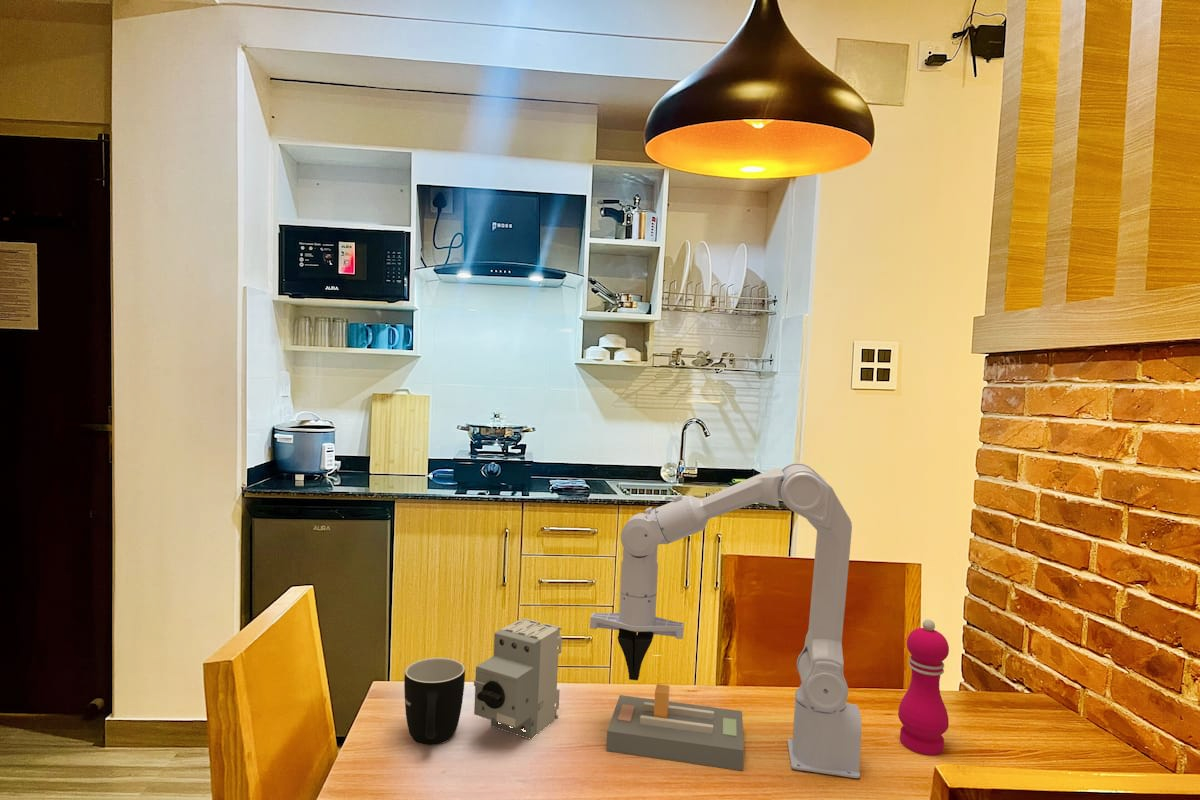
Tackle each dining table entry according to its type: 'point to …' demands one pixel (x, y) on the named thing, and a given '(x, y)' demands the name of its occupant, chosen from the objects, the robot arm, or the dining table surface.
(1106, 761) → the dining table surface
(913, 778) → the dining table surface
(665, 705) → the breaker lever
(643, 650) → the robot arm
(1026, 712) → the dining table surface
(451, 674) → the mug
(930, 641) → the pepper mill
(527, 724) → the circuit breaker
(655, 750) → the slider control box
